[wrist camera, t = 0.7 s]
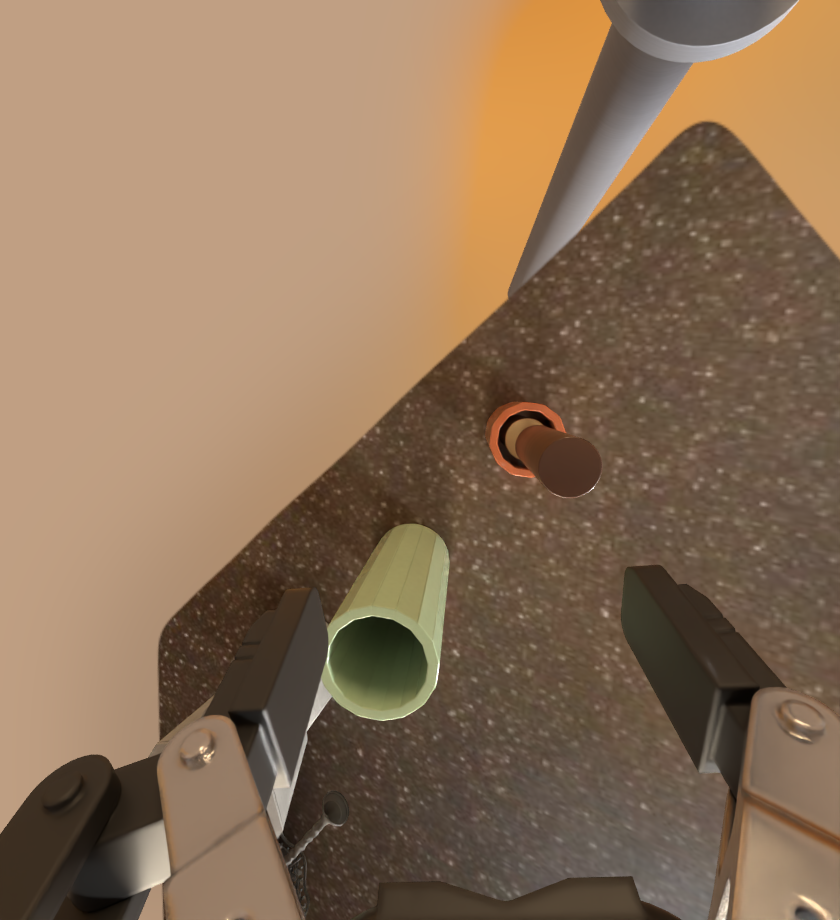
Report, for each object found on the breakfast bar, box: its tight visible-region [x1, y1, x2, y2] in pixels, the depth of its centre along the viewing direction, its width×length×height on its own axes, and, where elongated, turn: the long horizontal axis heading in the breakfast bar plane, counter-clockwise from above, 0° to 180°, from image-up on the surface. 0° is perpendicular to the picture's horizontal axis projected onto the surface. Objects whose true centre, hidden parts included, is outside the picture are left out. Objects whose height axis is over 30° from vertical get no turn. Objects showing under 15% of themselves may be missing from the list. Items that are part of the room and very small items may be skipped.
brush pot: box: [485, 402, 566, 477], centre depth 31 cm, size 5×5×7 cm
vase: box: [321, 524, 449, 721], centre depth 30 cm, size 6×6×15 cm
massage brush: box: [277, 791, 349, 917], centre depth 38 cm, size 9×22×9 cm, turn 142°
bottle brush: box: [499, 415, 602, 498], centre depth 26 cm, size 3×3×18 cm
